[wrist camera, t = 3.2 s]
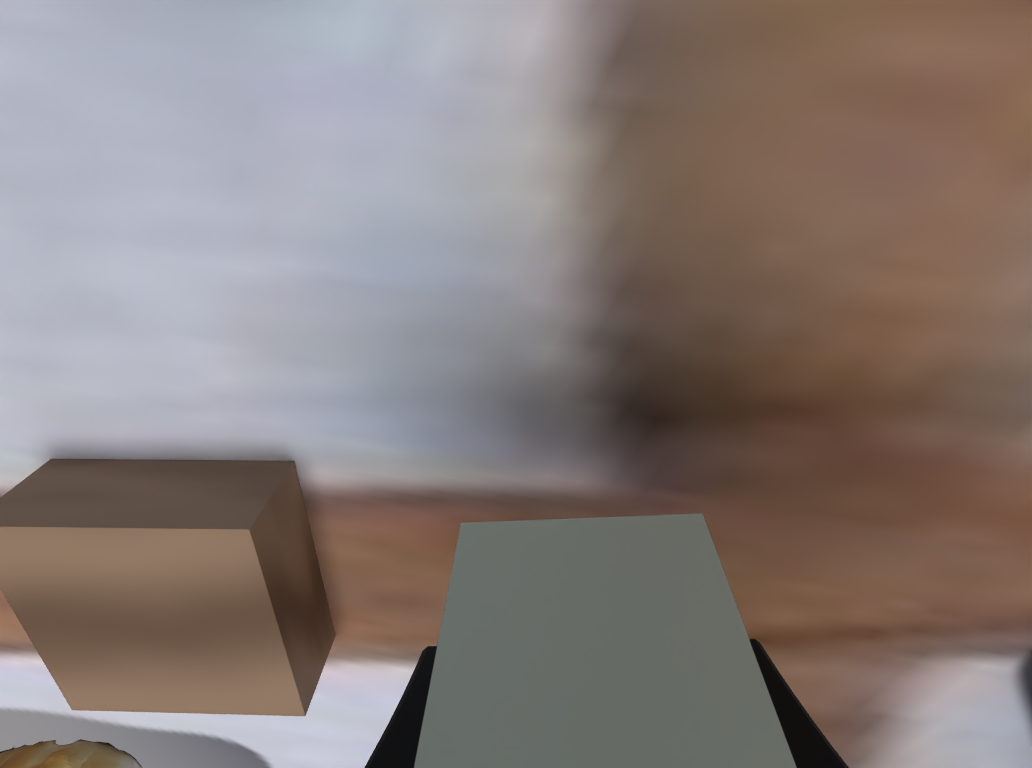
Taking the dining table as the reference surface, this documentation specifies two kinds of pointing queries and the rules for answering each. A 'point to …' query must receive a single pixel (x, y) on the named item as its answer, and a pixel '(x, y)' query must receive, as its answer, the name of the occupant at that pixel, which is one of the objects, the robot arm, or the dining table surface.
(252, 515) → the base block
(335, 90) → the dining table surface
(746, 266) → the dining table surface
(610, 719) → the green block
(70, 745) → the pastry
